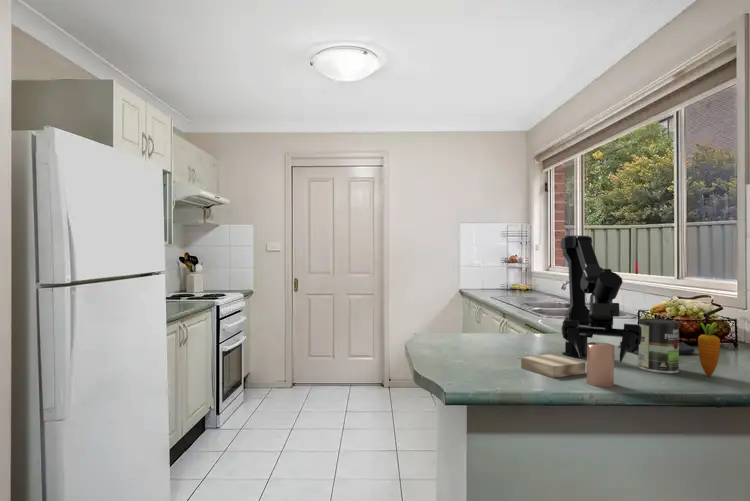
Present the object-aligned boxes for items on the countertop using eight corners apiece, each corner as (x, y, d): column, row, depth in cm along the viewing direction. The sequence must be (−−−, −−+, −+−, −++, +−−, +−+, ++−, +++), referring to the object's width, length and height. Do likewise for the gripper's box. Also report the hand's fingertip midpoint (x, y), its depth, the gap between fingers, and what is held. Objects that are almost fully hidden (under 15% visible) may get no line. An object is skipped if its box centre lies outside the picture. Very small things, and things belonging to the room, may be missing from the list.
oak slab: (551, 364, 145) (552, 354, 145) (584, 373, 134) (585, 362, 134) (521, 367, 139) (521, 357, 139) (552, 377, 129) (553, 366, 129)
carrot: (693, 374, 134) (693, 320, 134) (710, 374, 135) (710, 320, 135) (707, 378, 129) (707, 323, 129) (724, 378, 130) (724, 323, 130)
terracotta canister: (598, 379, 128) (598, 341, 128) (619, 385, 122) (620, 346, 122) (580, 381, 125) (581, 343, 125) (602, 388, 119) (602, 347, 119)
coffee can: (687, 371, 138) (687, 322, 138) (664, 375, 133) (665, 324, 133) (651, 363, 147) (652, 317, 147) (630, 367, 142) (630, 319, 142)
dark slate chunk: (702, 358, 158) (702, 343, 158) (634, 356, 159) (634, 342, 159) (675, 348, 173) (675, 335, 173) (612, 347, 174) (613, 334, 174)
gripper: (563, 289, 131) (559, 336, 121) (641, 293, 123) (644, 343, 113) (565, 315, 138) (561, 361, 128) (639, 320, 130) (641, 369, 120)
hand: (600, 358), depth 122 cm, fingers open, 9 cm apart
